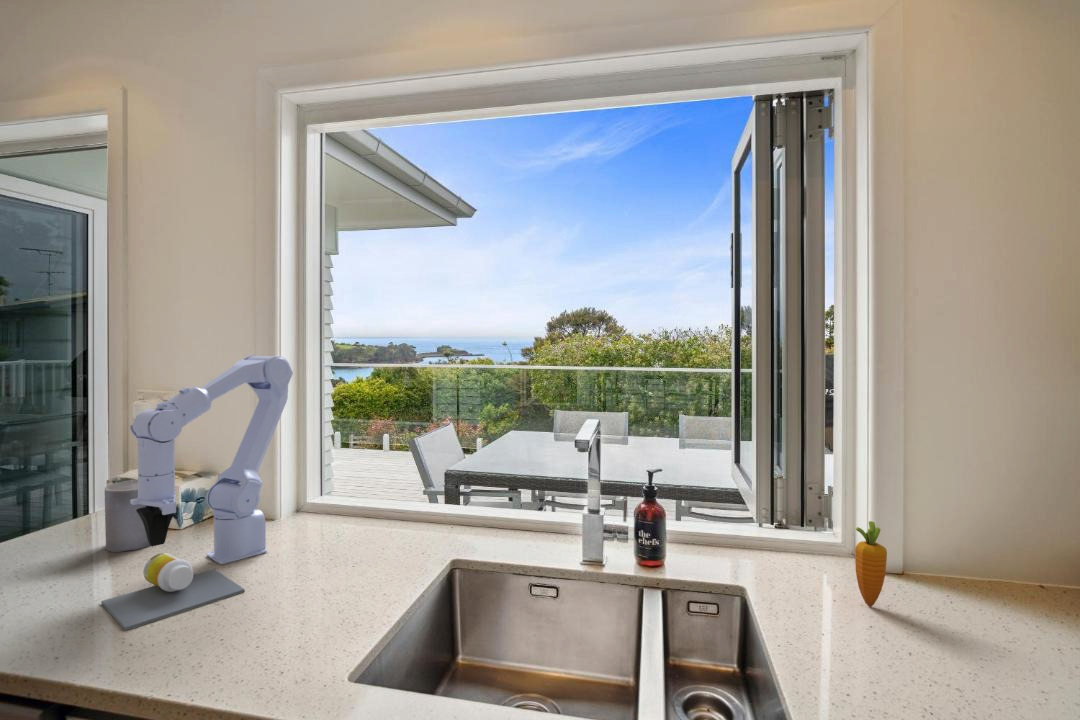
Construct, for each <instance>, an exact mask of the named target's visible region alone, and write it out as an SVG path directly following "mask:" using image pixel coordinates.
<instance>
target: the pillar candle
mask: <svg viewBox="0 0 1080 720" xmlns="http://www.w3.org/2000/svg"><path fill="white" fill-rule="evenodd" d="M137 497H138V479H134V478H131V480H126V481H119V482H116V483H112V484H108V485H107V486H106V487H104V513H105V514H104V516H105V517H104V518H105V519H104V520H105V521H104V523H105V525H104V527H105V529H104V530H105V549H106V551H108V552H112V553H120V552H121V553H122V552H126V551H127V552H128V551H135V550H141V549H144V548H147V547H152V546H151V545H150V544H149V542H148V539H147V535H146V531H145V527H144V524H143V522H142V520H141V518H140V516H139V515H138V513H137V512H136V510H137V509H139V508H143V507H146V506H147V505H140V504H137V505H132V504H130V500H131V499H136V498H137Z"/></svg>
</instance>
